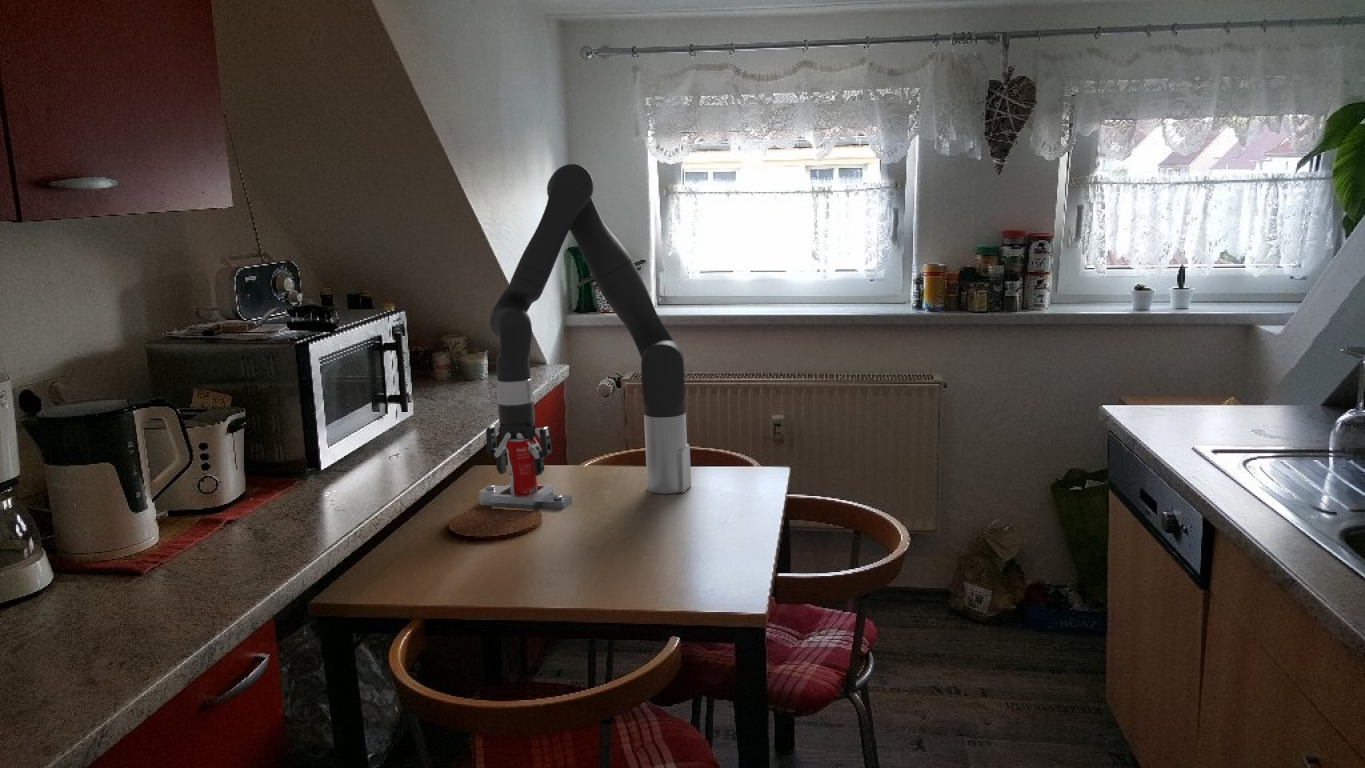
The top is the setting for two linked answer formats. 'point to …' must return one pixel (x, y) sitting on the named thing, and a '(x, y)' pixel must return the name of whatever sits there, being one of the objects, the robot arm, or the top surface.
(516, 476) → the beverage can
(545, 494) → the bolted grey bracket
